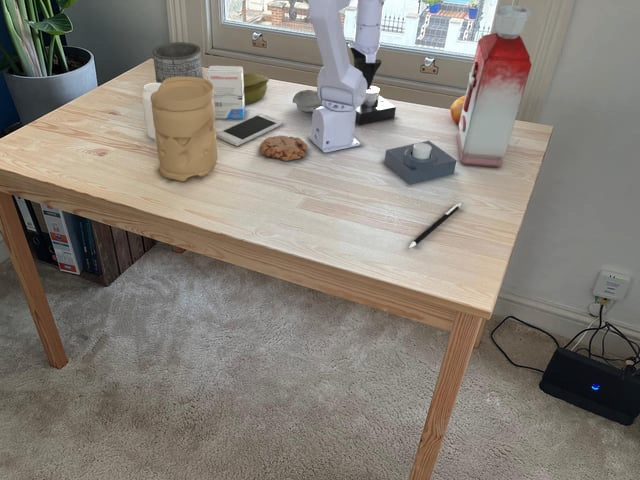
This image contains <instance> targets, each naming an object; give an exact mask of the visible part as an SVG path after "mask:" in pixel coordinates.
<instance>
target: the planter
mask: <svg viewBox="0 0 640 480" xmlns="http://www.w3.org/2000/svg"><path fill="white" fill-rule="evenodd" d="M152 57H153V66H154V73H155V83H162V82H163V81H164V80H165V79H167V78H171V77H177V76H180V77H199V78H203V79H204V77H203V65H202V54H201V47H200V46H199V45H198V44H195V43H191V42H184V41H183V42H182V41H175V42H168V43H163V44H160V45H158V46H156V47H154V48H153V49H152Z"/></svg>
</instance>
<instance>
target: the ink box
mask: <svg viewBox="0 0 640 480" xmlns="http://www.w3.org/2000/svg"><path fill="white" fill-rule="evenodd" d="M243 74H244V67H243V66H241V65H240V66H236V65H209V66H208V68H207V70H206V75H205V76H206V80H208V81H210V82H211V83H212V85H213V91H214V96H213V101H214V106H215V119H231V120H232V119H234V120H239V119H240V120H243V119H244V117H245V112H246V109H245V108H246V106H245V105H246V103H244V81H243Z"/></svg>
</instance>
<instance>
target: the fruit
mask: <svg viewBox="0 0 640 480" xmlns="http://www.w3.org/2000/svg"><path fill="white" fill-rule="evenodd" d="M465 96H466V94H464V95H462V96H460V97H459V98H457V99H455V100H454V102H452V104H451V106H450V108H449V109H450V115H451V118H452V121H453V122H454V123H455V124H456V125H458V126H459V123H460V118H461V114H462V109H463V105H464V101H465Z"/></svg>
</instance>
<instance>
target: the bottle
mask: <svg viewBox="0 0 640 480" xmlns="http://www.w3.org/2000/svg"><path fill="white" fill-rule="evenodd" d="M532 15H533V13H532V11H531V10H530V9H529V8H527V7H526V6H518V5H503V6H501V7H500V8H499V9H498V10H496V12H495V32H493V33H488V34H483V35H482V36H481V38H480V39H478V40H477V44H476V49H475V54H474V58H473V62H472V67H471V70H470V71H469V74H468V77H469V80H468V84H467V88H466V93H465V95H466V96H465V95H464V96H465V101H464V105H463V109H462V114H461V118H460V123H459V125H458V132H457V133H456V139H457V146H458V147H457V148H458V156H459V161H460V163H462V164H463V165H465V166H476V167H477V166H478V167H487V168H488V167H489V168H498V167H501V166H502V165H503V160H502V159H503V158H504V157H505V156H506V153H507V149H508V146H509V143H510V139H511V137H512V133H513V129H514V126H515V122H516V119H517V115H518V112H519V109H520V106H521V102H522V99H523V95H524V92H525V88H526V85H527V82H528V79H529V75H530V72H531V69H532V62H531V56H530V54H529V51H528V49H527V47H526V45H525V43H524V40H523V38H522V37H521V34H523V32H524V31H525V29H526V27H527V25H528V22H529V21H530V19H531V17H532Z"/></svg>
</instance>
